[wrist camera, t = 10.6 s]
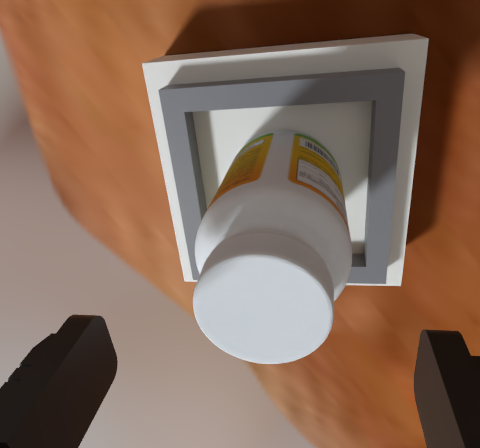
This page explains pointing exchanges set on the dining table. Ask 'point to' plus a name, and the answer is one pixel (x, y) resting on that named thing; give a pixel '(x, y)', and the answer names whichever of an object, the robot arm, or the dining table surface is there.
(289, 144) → the supplement bottle
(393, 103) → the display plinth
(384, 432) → the dining table surface
